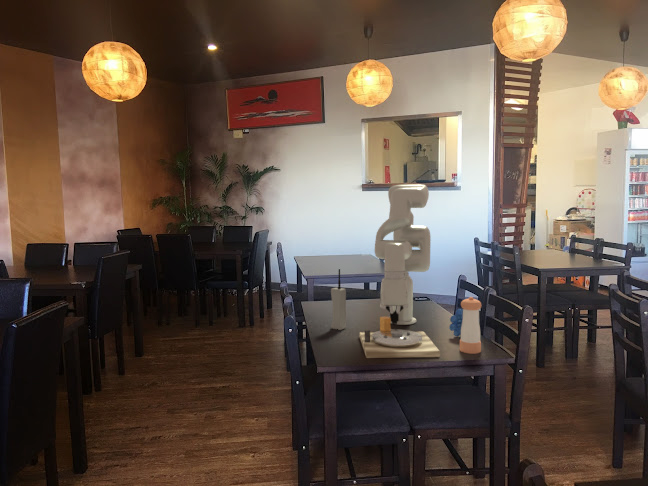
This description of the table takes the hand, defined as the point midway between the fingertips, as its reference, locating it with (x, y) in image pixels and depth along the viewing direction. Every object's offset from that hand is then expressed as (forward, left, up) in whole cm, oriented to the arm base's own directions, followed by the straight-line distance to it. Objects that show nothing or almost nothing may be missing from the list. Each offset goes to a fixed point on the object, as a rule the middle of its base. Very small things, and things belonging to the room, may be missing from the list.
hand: (394, 323), depth 191 cm
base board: (+8, 0, -7) cm, 10 cm away
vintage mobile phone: (-18, -20, -7) cm, 28 cm away
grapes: (-4, +28, -7) cm, 29 cm away
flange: (+8, 0, -4) cm, 9 cm away
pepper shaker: (+14, +25, -7) cm, 29 cm away
